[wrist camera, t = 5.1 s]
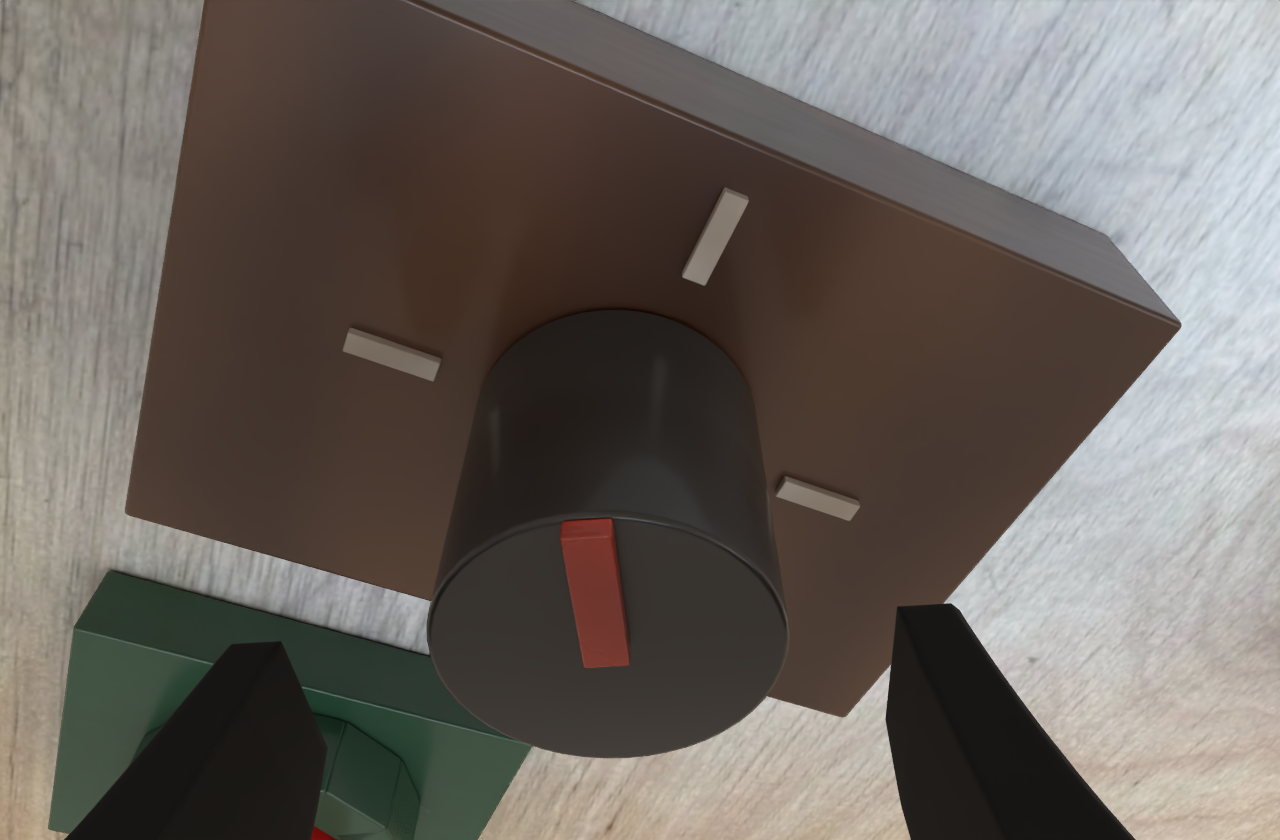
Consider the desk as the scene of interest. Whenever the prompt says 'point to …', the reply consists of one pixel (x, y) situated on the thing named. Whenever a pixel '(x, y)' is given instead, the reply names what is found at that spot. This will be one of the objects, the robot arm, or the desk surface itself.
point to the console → (602, 299)
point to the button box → (334, 687)
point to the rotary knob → (611, 544)
